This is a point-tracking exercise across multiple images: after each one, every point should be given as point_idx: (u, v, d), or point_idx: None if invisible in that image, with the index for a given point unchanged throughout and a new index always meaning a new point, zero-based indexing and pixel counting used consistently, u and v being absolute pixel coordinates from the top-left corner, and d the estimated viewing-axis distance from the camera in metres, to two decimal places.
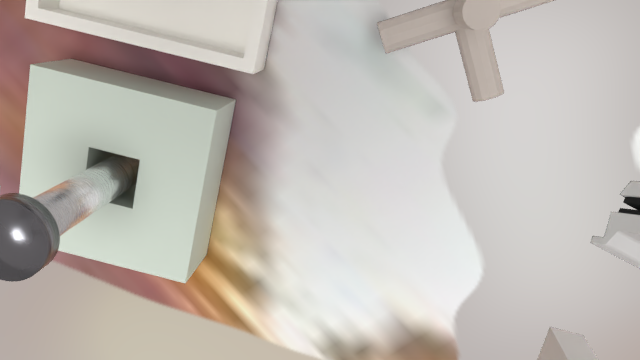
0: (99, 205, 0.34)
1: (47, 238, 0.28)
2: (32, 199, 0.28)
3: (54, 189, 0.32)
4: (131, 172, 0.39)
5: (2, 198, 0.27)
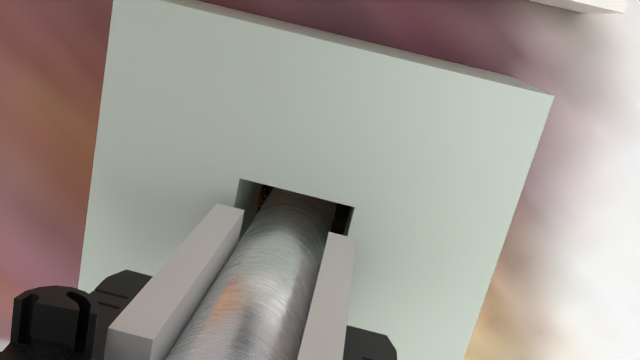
0: None
1: None
2: None
3: (226, 322, 0.11)
4: (325, 231, 0.18)
5: None
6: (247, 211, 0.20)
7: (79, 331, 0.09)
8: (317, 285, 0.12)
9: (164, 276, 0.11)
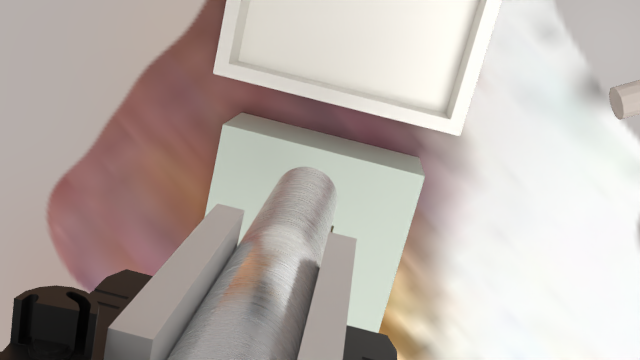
0: None
1: None
2: None
3: (225, 325, 0.11)
4: (325, 233, 0.18)
5: None
6: None
7: (79, 331, 0.09)
8: (317, 285, 0.12)
9: (164, 276, 0.11)
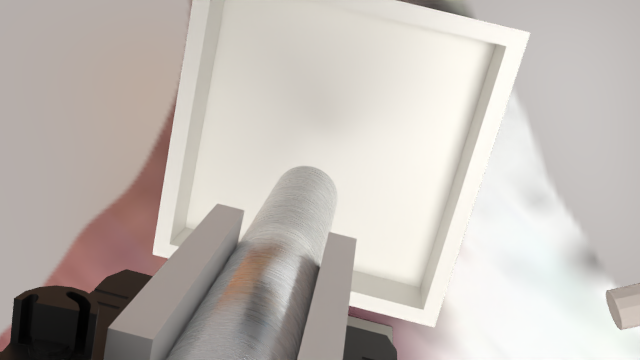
0: None
1: None
2: None
3: (225, 324, 0.11)
4: (325, 232, 0.18)
5: None
6: None
7: (79, 331, 0.09)
8: (317, 285, 0.12)
9: (164, 276, 0.11)
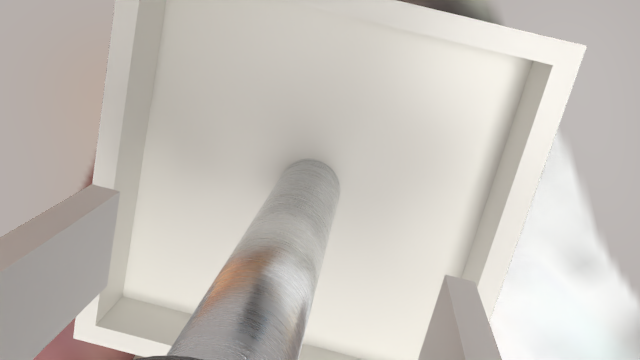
0: None
1: None
2: None
3: (237, 297, 0.12)
4: (328, 221, 0.19)
5: None
6: None
7: None
8: (464, 344, 0.12)
9: None
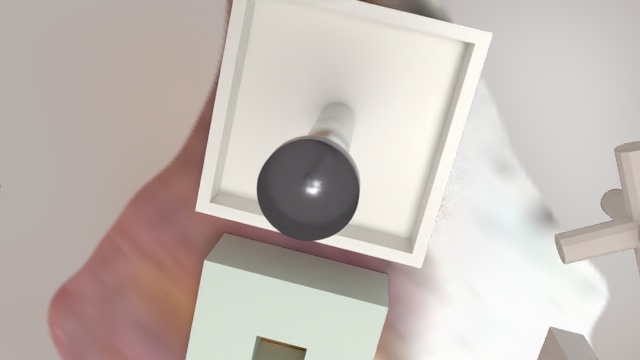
0: None
1: None
2: (334, 142, 0.23)
3: None
4: (352, 129, 0.34)
5: (306, 139, 0.23)
6: (259, 339, 0.42)
7: None
8: None
9: None
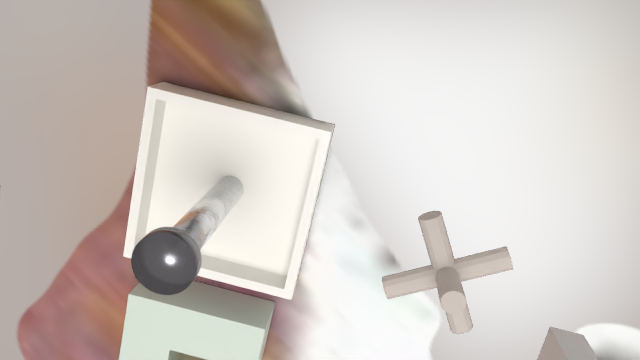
0: (214, 231, 0.43)
1: (196, 262, 0.36)
2: (182, 231, 0.36)
3: (186, 220, 0.40)
4: (230, 201, 0.47)
5: (162, 231, 0.35)
6: (176, 351, 0.55)
7: None
8: None
9: None
